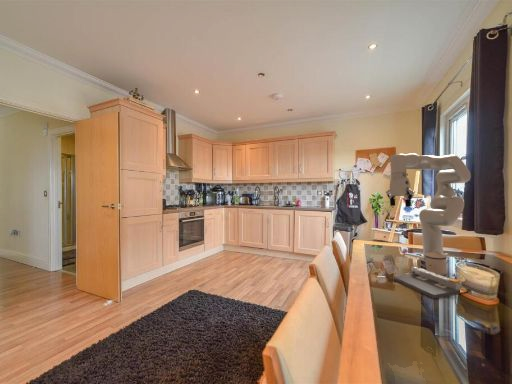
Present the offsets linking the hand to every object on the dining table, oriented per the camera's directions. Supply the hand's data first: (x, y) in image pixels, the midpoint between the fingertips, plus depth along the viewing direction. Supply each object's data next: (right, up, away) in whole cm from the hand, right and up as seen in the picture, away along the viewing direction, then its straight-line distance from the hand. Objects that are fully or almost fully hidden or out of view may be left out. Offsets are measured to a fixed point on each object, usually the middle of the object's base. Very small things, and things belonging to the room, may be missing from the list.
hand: (400, 206), depth 128 cm
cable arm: (+1, -33, -23) cm, 40 cm away
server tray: (-2, -36, -23) cm, 43 cm away
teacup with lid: (+12, -35, -8) cm, 38 cm away
